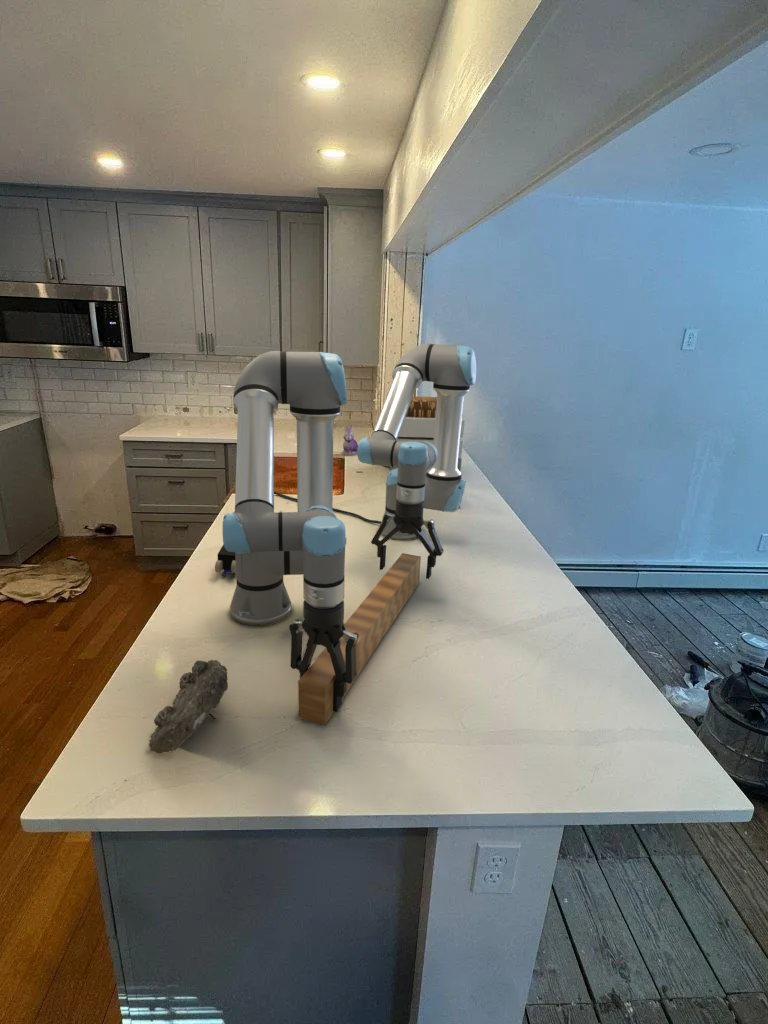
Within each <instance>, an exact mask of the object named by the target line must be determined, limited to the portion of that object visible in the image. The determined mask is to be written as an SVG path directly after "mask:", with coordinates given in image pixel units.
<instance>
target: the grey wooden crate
mask: <svg viewBox="0 0 768 1024" xmlns="http://www.w3.org/2000/svg"><path fill="white" fill-rule="evenodd" d="M436 404H437V396H415V395H413V398H412V401H411V403H410V406H409V409H408V411H407V414H406V417H405V420H404V422H403V425H402V428H401V430H400V433H399V436H398V439H397V441H400V442H430V443H432V444H433V441H434V429H435V417H436ZM464 429H465V419H464V418H462V422H461V433H460V443H459V454H458V464H457V468H458V470H459V471H460V472H461V473H462V461H463V460H462V453H463V442H464V441H463V440H462V439H463V438H464V431H465V430H464ZM393 469H396V468H394V467H389V472H390V471H391V470H393Z"/></svg>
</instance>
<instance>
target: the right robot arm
mask: <svg viewBox="0 0 768 1024" xmlns="http://www.w3.org/2000/svg"><path fill="white" fill-rule="evenodd" d="M476 361H477V358H476V353H475V351H474V349H473V348H472V347H470V346H466V345H465V346H464V345H460V344H440V343H439V344H438V343H435V344H434V343H421V344H418V345H415V346H413V347H412V348H411V349H409V350H408V351H407V352H405V354H403V355H402V356H401V358H399V360H398V361H397V362H396V364H395V365H394V368H393V371H392V375H391V377H392V382H391V385H390V386H389V387H390V388H389V390H388V392H387V395H386V397H385V400H384V402H383V405H382V407H381V410H380V413H379V416H378V418H377V420H376V423H375V425H374V428H373V431H372V433H371V436H368V437H365V436H364V437H361V439H359V441H358V443H357V444H358V449H357V454H356V455H357V459H358V461H359V462H360V463H362V464H366V465H371V466H380V467H388V468H390V467H394V468H396V469H393V470H391V471H390V470H389V472H388V473H387V475H386V482H385V504H384V505H385V507H384V508H385V509H384V513H383V515H382V519H381V520H375V519H369V518H366V517H364V516H362V515H360V514H357V513H355V512H350V511H348V510H343V509H340V508H339V509H338V508H334V507H333V509H332V511H333V512H336V513H340V514H345V515H350V516H352V517H355V518H358V519H360V520H361V521H364V522H367V523H371V524H379V526H378V529H377V531H376V532H375V534H374V536H373V538H372V539H371V541H370V544H372V545H375V546H376V547H377V548H376V556H377V558H378V559H379V570H380V571H383V570H384V568H385V567H386V561H387V560H386V559H387V545H386V543H387V542H388V541H389V540H395V541H410V540H415V539H418V540H419V541H420V543H421V544H422V546H423V547H424V549H425V550H426V551H427V553H428V555H427V562H426V572H425V573H426V574H425V579H426V580H429V579H430V578H431V576H432V572H433V571H432V570H433V568H435V566H436V563H437V557H441V556H442V555H443V554H444V548H443V546H442V543H441V540H440V538H439V535H438V532H437V530H436V527H435V520H434V519H429V520H427V519H424V509H425V510H432V511H439V512H442V513H444V512H447V513H455V512H457V510H458V509H459V508H458V507H459V505H460V506H461V502H462V500H463V496H464V493H465V492H464V491H465V489H466V479H464V478H462V476H461V475H462V471H461V472H460V471H459V470H458V468H457V464H458V454H459V443H460V439H461V438H460V433H461V422H462V419H463V410H464V402H465V401H464V400H465V395H467V393H468V392H470V388H471V386H474V385H475V384H476V380H477V362H476ZM423 382H431V383H433V384H432V389H433V390H434V391H435V393H436V397H437V404H436V417H435V429H434V441H433V444H432V443H430V442H400V441H397V439H398V436H399V433H400V430H401V428H402V425H403V422H404V420H405V417H406V414H407V411H408V409H409V406H410V403H411V401H412V398H413V396H415V395H414V394H415V393H416V390H417V389H418V388H420V386H421V385H422V383H423ZM461 478H462V479H461ZM274 495H276V496H279V497H282V498H284V499H288V500H291V501H293V502H297V497H296V498H295V497H292V496H289V495H286V494H282V493H280V492H277V491H274ZM423 526H424V527H425V529H426V530H427V532H428V535H429V537H430V539H431V540H430V539H429V538H428V536H427V535H426V533H425V531H424V529H423ZM381 536H382V537H383V538H382V539H381V540H380V538H381Z"/></svg>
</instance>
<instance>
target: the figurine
mask: <svg viewBox="0 0 768 1024" xmlns="http://www.w3.org/2000/svg"><path fill="white" fill-rule="evenodd" d="M353 431H354V425H353V424H352V425H351V426H350V427H348V425H344V434H343V440H344V441H343V444H342V448H343V450H342V454H343V455H345V456H351V455H352V456H354V455H357V449H358V444H359V443H358V442H357V441H356V440H355V435H354V433H353Z"/></svg>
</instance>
